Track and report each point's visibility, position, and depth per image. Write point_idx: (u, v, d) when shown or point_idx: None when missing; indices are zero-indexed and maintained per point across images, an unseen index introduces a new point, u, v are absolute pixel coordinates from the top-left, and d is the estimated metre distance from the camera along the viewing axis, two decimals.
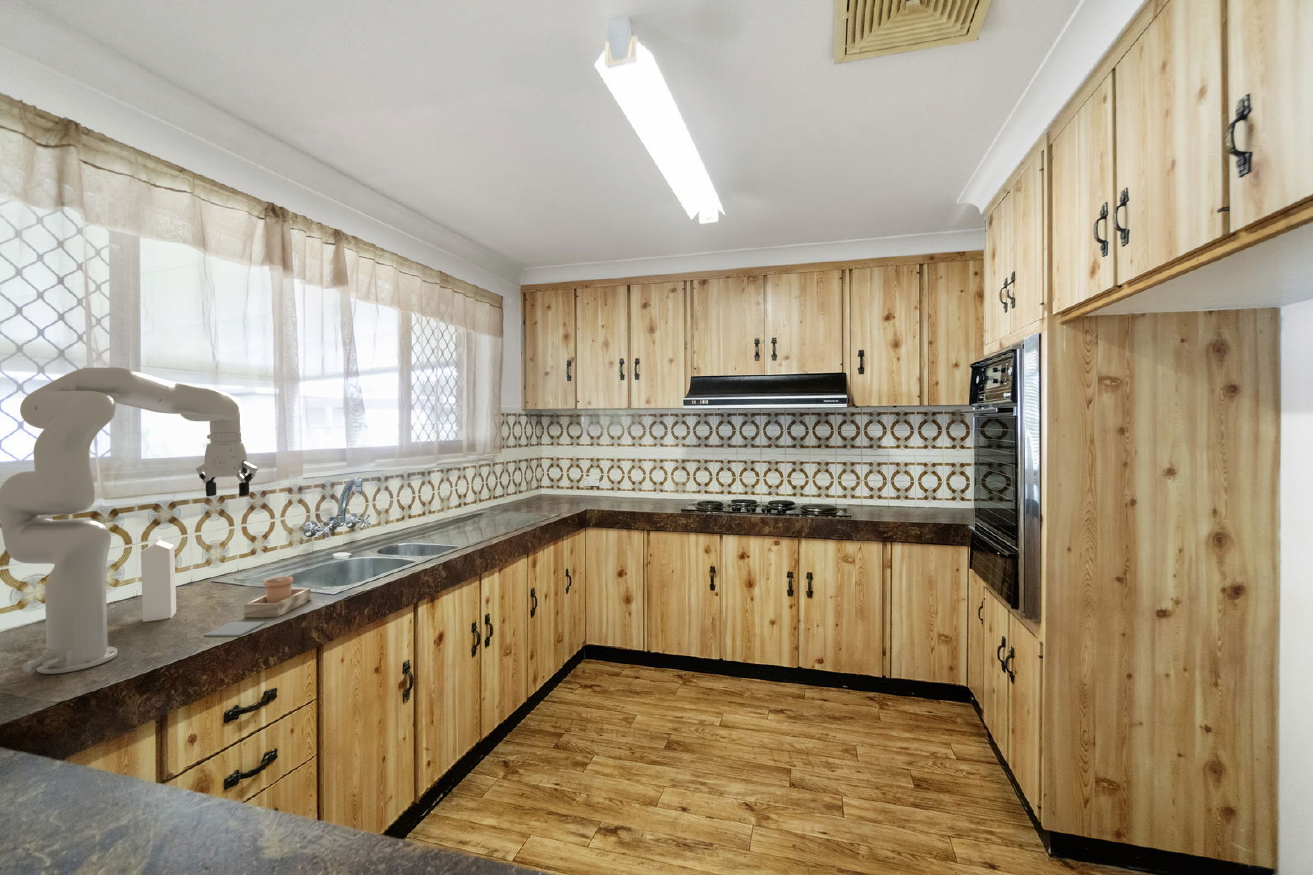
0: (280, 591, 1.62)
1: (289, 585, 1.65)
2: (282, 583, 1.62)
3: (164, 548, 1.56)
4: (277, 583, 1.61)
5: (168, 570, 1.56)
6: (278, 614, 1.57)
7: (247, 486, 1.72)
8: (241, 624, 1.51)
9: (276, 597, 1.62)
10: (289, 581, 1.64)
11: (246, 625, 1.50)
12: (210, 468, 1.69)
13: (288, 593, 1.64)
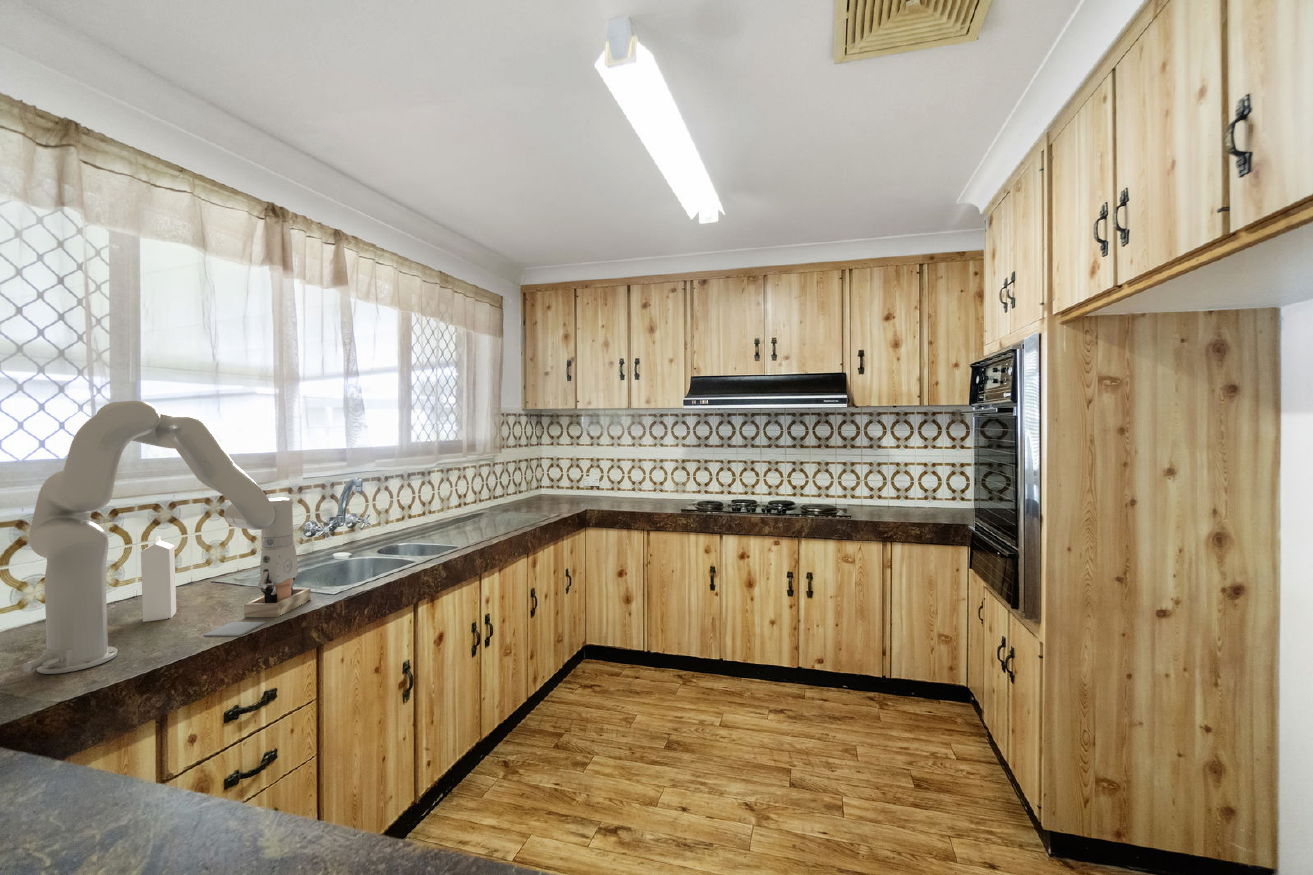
0: (280, 591, 1.62)
1: (289, 585, 1.65)
2: (282, 583, 1.62)
3: (164, 548, 1.56)
4: None
5: (168, 570, 1.56)
6: (278, 614, 1.57)
7: None
8: (241, 624, 1.51)
9: None
10: (289, 581, 1.64)
11: (246, 625, 1.50)
12: (281, 574, 1.62)
13: (288, 593, 1.64)
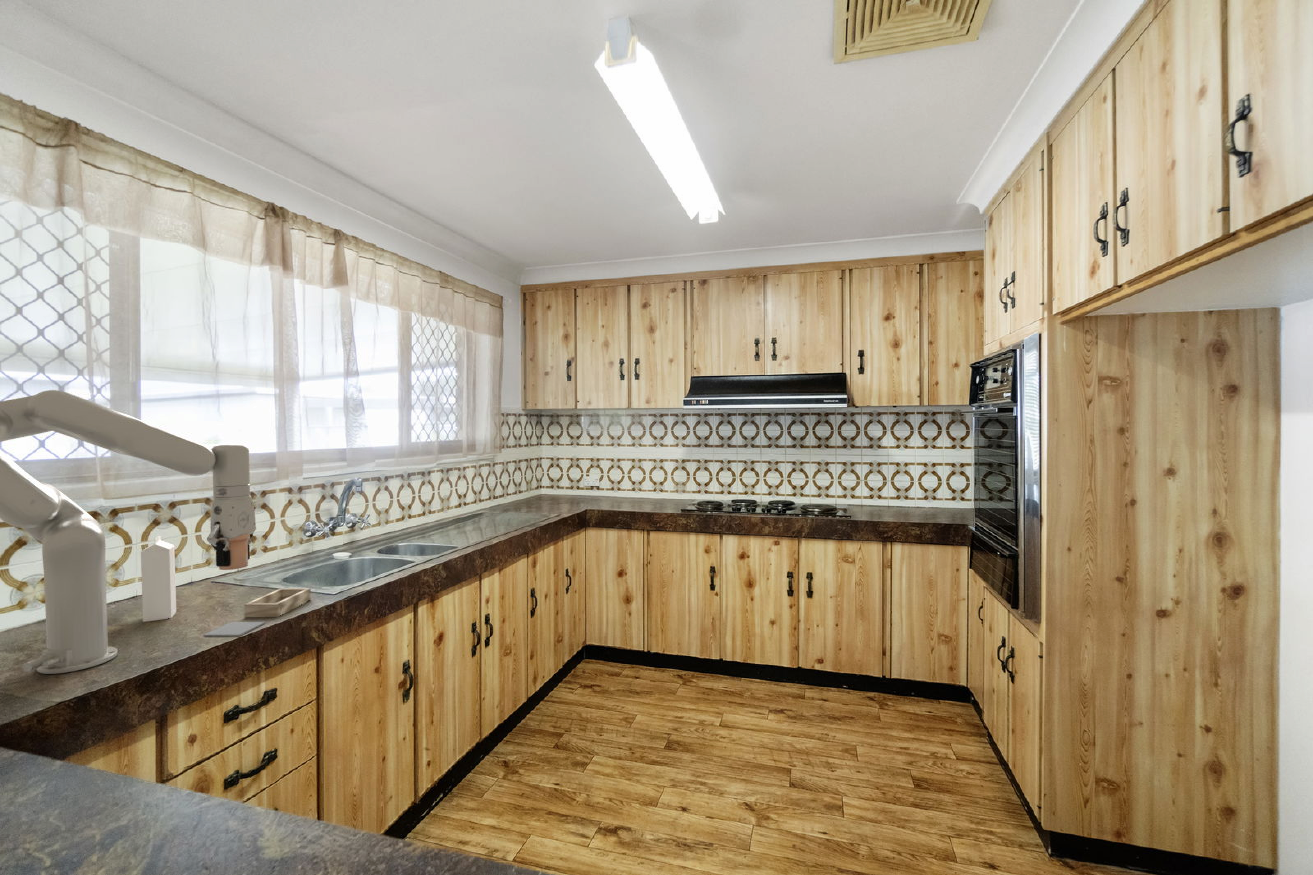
0: (234, 547, 1.45)
1: (245, 541, 1.47)
2: (236, 538, 1.45)
3: (164, 548, 1.56)
4: None
5: (168, 570, 1.56)
6: (278, 614, 1.57)
7: None
8: (241, 624, 1.51)
9: None
10: (245, 536, 1.47)
11: (246, 625, 1.50)
12: (235, 528, 1.44)
13: (243, 550, 1.47)
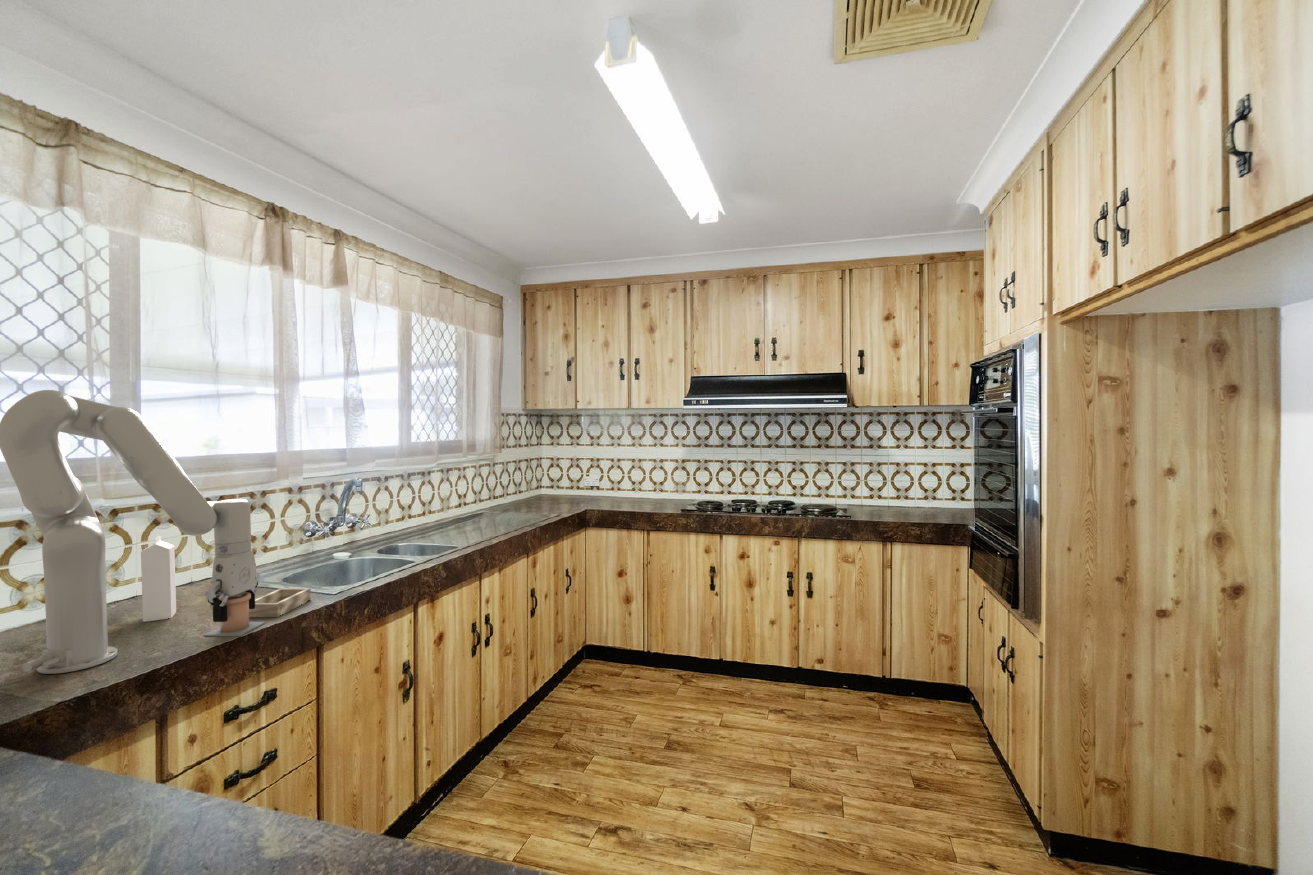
0: (236, 609, 1.45)
1: (246, 602, 1.48)
2: (237, 600, 1.45)
3: (164, 548, 1.56)
4: (232, 600, 1.44)
5: (168, 570, 1.56)
6: (278, 614, 1.57)
7: None
8: None
9: (230, 616, 1.45)
10: (246, 598, 1.47)
11: None
12: (236, 585, 1.45)
13: (245, 611, 1.47)
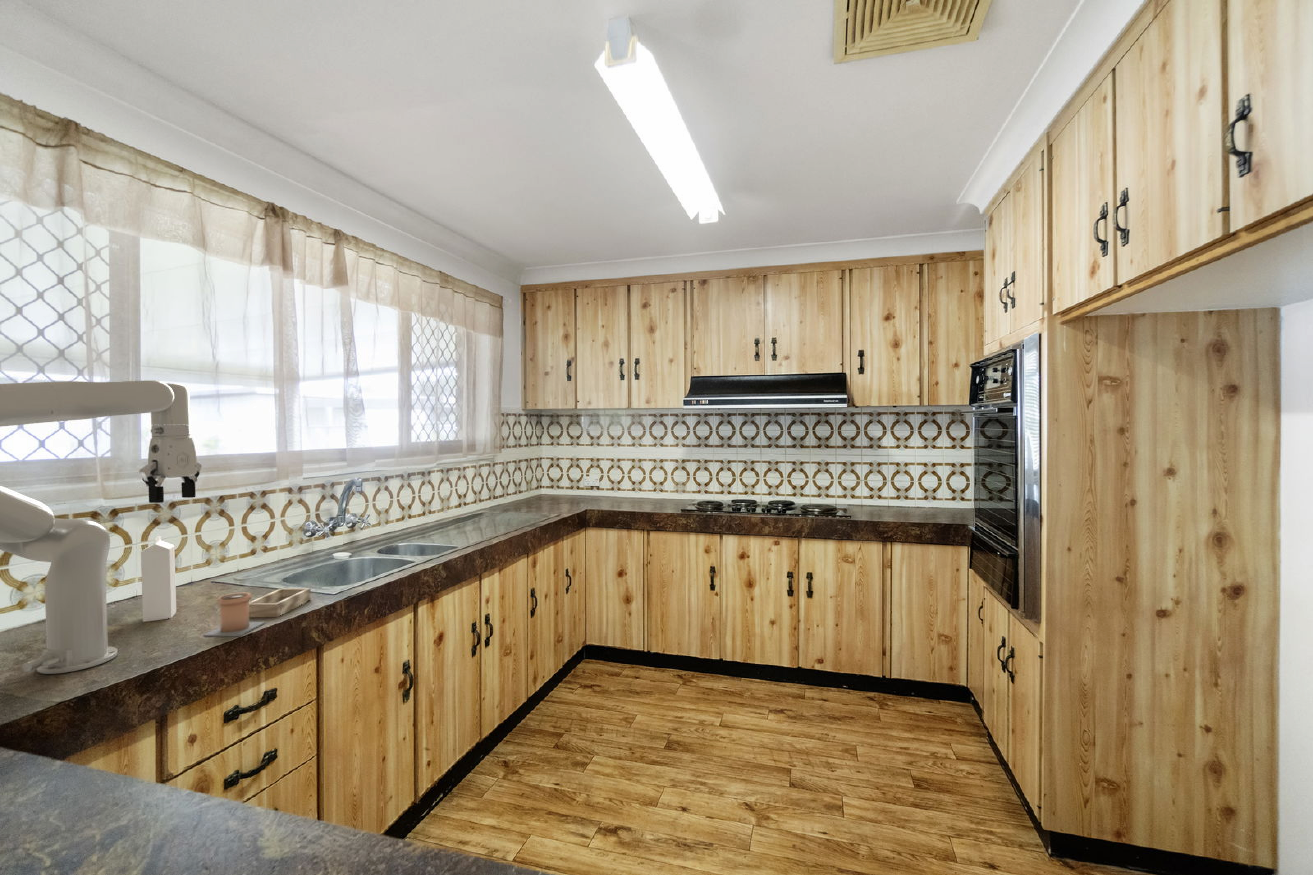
0: (236, 609, 1.45)
1: (246, 602, 1.48)
2: (238, 600, 1.45)
3: (164, 548, 1.56)
4: (232, 600, 1.44)
5: (168, 570, 1.56)
6: (278, 614, 1.57)
7: None
8: None
9: (230, 616, 1.45)
10: (246, 598, 1.47)
11: None
12: (173, 467, 1.44)
13: (245, 611, 1.47)
